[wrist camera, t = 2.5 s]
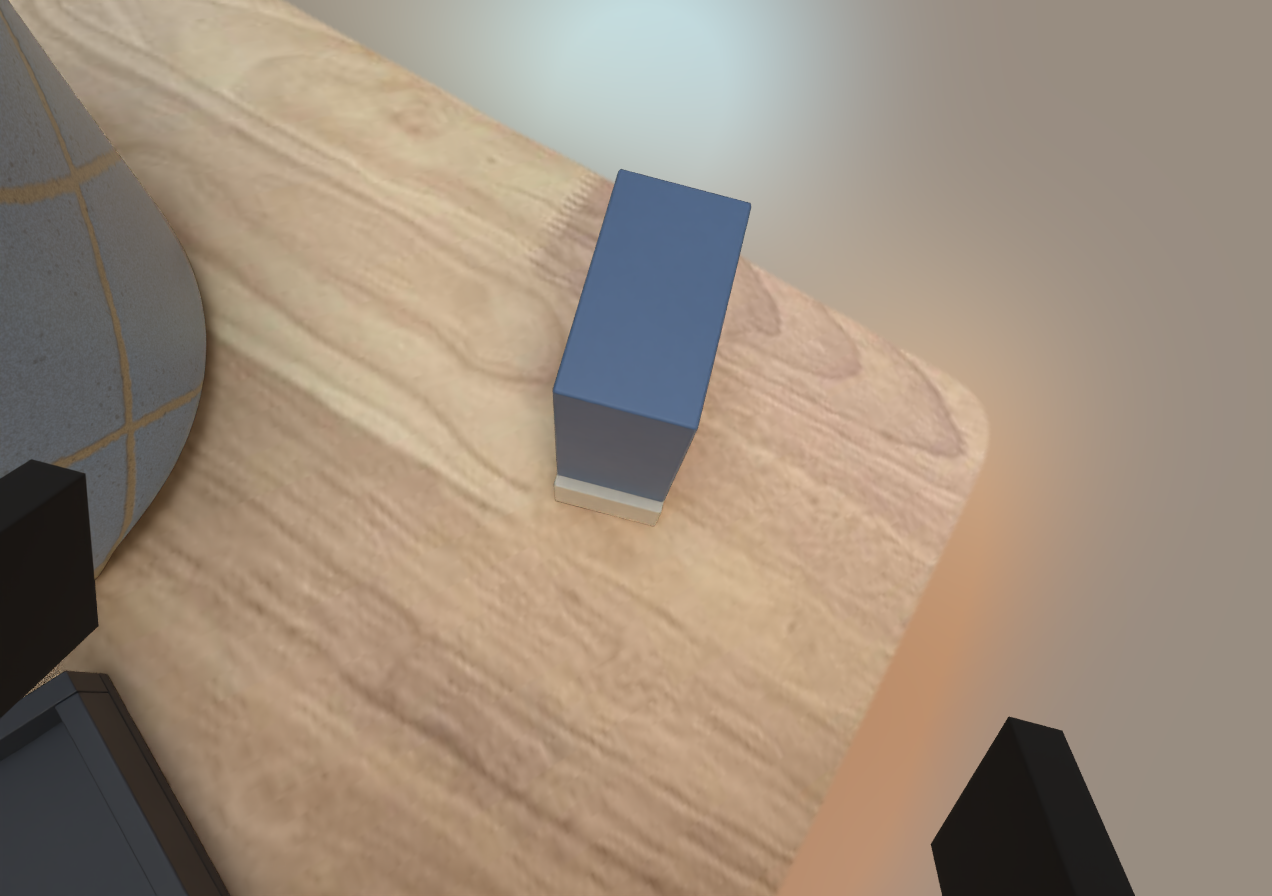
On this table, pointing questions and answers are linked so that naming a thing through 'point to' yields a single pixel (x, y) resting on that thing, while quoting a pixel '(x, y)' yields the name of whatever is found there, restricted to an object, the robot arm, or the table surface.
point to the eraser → (643, 344)
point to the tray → (90, 801)
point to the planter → (87, 302)
